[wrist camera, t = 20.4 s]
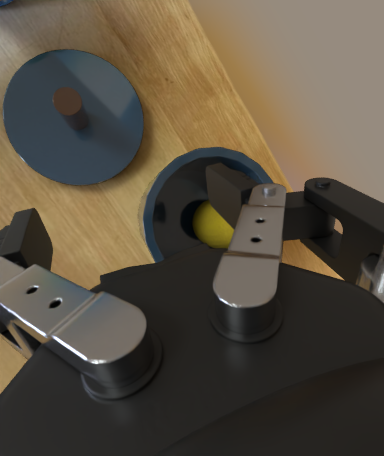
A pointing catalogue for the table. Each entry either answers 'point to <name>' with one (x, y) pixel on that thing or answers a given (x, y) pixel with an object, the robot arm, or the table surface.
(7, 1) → the snack cup
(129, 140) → the lid
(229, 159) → the pot
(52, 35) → the table surface
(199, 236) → the lemon
